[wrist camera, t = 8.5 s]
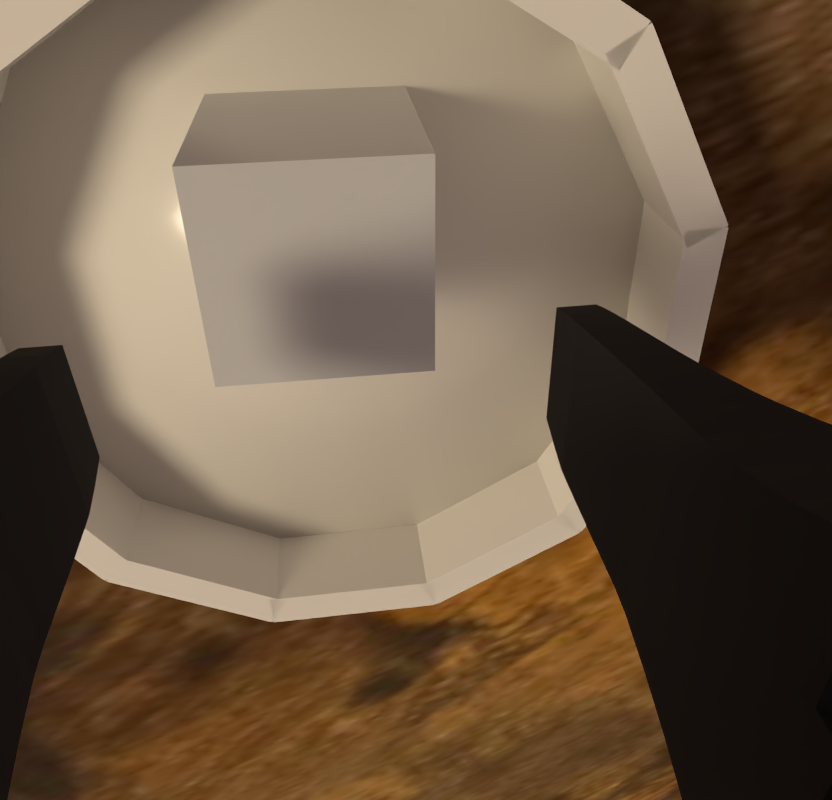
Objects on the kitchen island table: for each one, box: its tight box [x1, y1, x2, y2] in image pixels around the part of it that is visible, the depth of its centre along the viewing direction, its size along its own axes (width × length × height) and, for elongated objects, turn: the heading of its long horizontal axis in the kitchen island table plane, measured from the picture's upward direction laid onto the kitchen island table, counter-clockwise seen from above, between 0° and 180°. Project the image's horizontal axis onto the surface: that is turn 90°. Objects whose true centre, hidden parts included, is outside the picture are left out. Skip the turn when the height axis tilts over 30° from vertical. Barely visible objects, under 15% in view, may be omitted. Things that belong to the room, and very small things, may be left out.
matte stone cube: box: [172, 86, 435, 387], centre depth 16 cm, size 4×4×5 cm
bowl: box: [0, 0, 729, 622], centre depth 19 cm, size 18×18×4 cm
